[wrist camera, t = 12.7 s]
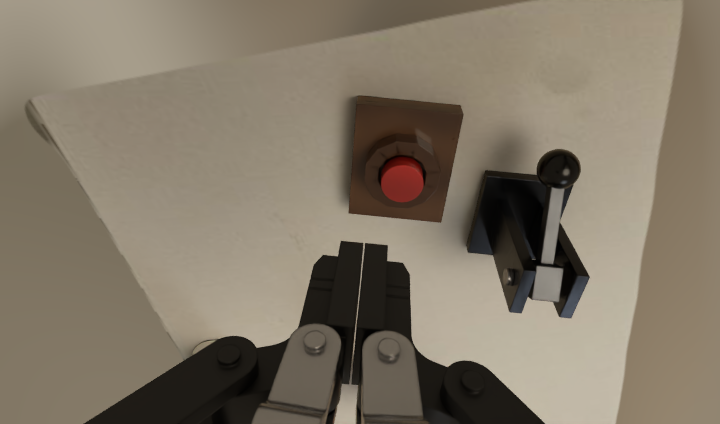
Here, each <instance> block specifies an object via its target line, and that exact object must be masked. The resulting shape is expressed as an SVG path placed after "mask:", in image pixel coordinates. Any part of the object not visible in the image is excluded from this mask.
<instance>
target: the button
mask: <svg viewBox="0 0 720 424" xmlns="http://www.w3.org/2000/svg"><path fill="white" fill-rule="evenodd" d="M423 185H424V181H423V172H422V168H421V166H420V165H419V163H418V162H417V161H415V160H414V159H412V158H409V157H404V156H401V157H396V158H393V159H391V160H389V161H388V162H387V163H386V164H385V165H384V167H383V169H382V173H381V188H382V191H383V193H384V194H385V195H386V196H387V197H388V198H389V199H391V200H393V201H396V202H408V201H411V200H413V199H415V198H416V197H417V196H418V195H419V194H420V193H421V191H422V189H423Z"/></svg>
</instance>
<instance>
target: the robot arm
mask: <svg viewBox="0 0 720 424" xmlns="http://www.w3.org/2000/svg"><path fill="white" fill-rule="evenodd" d="M387 250H388V245H379V244H368V243H365V251H364V260H363V270H362V280H361V289H360V299H359V309H358V318H357V328H356V339H355V350H354V361H353V372H352V384H353V385H358V394H357V405H356V424H545V423H544V422H543V421H542V420H541V419H540V418H539V417H538V416H537V415H536V414H534V413H533V412H532V411H531V410H530V409H529V408H528V407H527V406H526V405H525V404H524V403H523V402H522V401H521V400H520V399H519V398H518V397H517V396H516V395H515V394H514V393H513V392H512V391H511V390H510V389H509V388H507V387H506V386H505V385H504V384H503V383H502V382H501V381H500V380H499V379H498V378H497V377H496V376H495V375H494V374H493V373H492V372H491V371H490V370H488V369H487V368H486V367H484V366H483V365H480V364H478V363H475V362H472V361H459V362H455V363H453V364H451V365H450V366H449V367H445V366H443V365H440V364H438V363H435V362H433V361H431V360H429V359H427V358H426V357H424V356H423V355H422V354H421V353H420V352H419V351H418V350H417V349H416V347H415V346H414V344H413V341H412V336H411V306H410V274H409V273H408V271H407V269H406V268H405V266H404V264H403V263H399V262H389V261H387ZM362 253H363V243H357V242H347V241H341V243H340V249H339V254H338V257H337V256H327V255H323V256H322V257H321V258H320V259H319V260H318V261H317V262H316V263H315V264H314V266H313V270H312V275H311V279H310V283H309V287H308V291H307V295H306V299H305V303H304V307H303V311H302V315H301V319H300V323H299V326H298V329H296V330H295V331H294V332H293V333H292V335H291V336H290V338H289V339H287V340H286V341H284V342H282V343H279V344H276V345H272V346H266V347H260V348H256V347H255V345H254V344H253V343H252V342H251V341H250V340H248V339H246V338H244V337H239V336H229V337H224V338H221V339H218V340H216V341H214V342H213V343H211V344H210V345H208V346H206V347H205V348H203V349H202V350H200V351H199V352H197V353H195V354H194V355H192V356H191V357H189V358H187V359H186V360H184V361H183V362H181V363H179V364H178V365H176V366H175V367H173V368H172V369H170V370H169V371H167V372H166V373H164V374H162V375H160V376H159V377H157V378H156V379H154V380H153V381H151V382H150V383H148V384H146V385H145V386H143V387H142V388H140V389H138V390H137V391H135V392H134V393H132V394H130V395H129V396H127V397H125V398H124V399H122V400H121V401H119V402H118V403H116V404H115V405H113V406H111V407H110V408H108V409H106V410H105V411H103V412H102V413H100V414H99V415H97V416H95V417H94V418H93V419H91V420H89V421H87V422H86V423H84V424H334V421H335V417H336V412H337V405H338V403H339V400H340V395H341V387H342V384H349V380H350V371H351V361H352V352H353V343H354V333H355V324H356V315H357V305H358V296H359V286H360V275H361V264H362Z"/></svg>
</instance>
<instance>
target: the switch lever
mask: <svg viewBox="0 0 720 424" xmlns="http://www.w3.org/2000/svg"><path fill="white" fill-rule="evenodd" d="M580 172H581V166H580V162H579V160H578V158H577V157H576V156H575V155H574V154H573V153H572V152H570V151H568V150H564V149H555V150H551V151H549V152H547V153H546V154H544V155H543V156H542V157H541V159H540V160H539V162H538V165H537V176H538V178H539V180H540V182H541V183H542V184H543V185H545V186H546V187H547V188H546V195H545V202H544V209H543V216H542V223H541V230H540V237H539V244H538V251H537V258H536V260H532V261H533V263H534V266H535V268H536V271H537V273H536V275H535V278H534V281H533V284H532V286H531V289H530V292H529V294H528V297H529V298H531V299H532V300H541V301H550V302H559V298H560V292H561V285H562V278H563V272H564V268H563V267H561V266H559V265H557V264H555V263H554V258H555V252H556V245H557V238H558V231H559V224H560V218H561V211H562V204H563V197H564V191H565V188H568V187H570V186H571V185H573V184H574V183H575V182H576V181H577V179H578V178H579V175H580Z"/></svg>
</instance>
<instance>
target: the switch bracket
mask: <svg viewBox="0 0 720 424" xmlns="http://www.w3.org/2000/svg"><path fill="white" fill-rule="evenodd" d="M572 187H573V185H571V186H570V187H568V188H565V191H564V197H563V204H562V211H561V217H562V214H563V211H564V209H565V206H566V203H567V201H568V198H569V195H570V193H571V190H572ZM546 188H547V187H546V186H545V185H543V184H542V183H541V182H540V180H539V178H538V176H537V175H529V174H518V173H508V172H498V171H488V170H485V173H484V177H483V181H482V185H481V189H480V193H479V197H478V201H477V205H476V209H475V213H474V217H473V221H472V225H471V229H470V233H469V237H468V241H467V245H466V246H467V251H468V253H478V254H488V255H493V257H494V261H495V264H496V267H497V271H498V274H499V278H500V281H501V285H502V288H503V292H504V295H505V298H506V302H507V305H508V309H509V312H513V313H522V311H523V308H524V305H525V302H526V300H527V297H528V294H529V292H530V289H531V286H532V284H533V281H534V278H535V275H536V273H537V271H536V268H535V266H534V263H533V261H532V259H535V260H536V258H537V251H538V244H539V237H540V230H541V223H542V216H543V209H544V202H545V195H546ZM560 219H561V218H560ZM554 263H555V264H557V265H559V266H561V267H563V268H564V272H563V278H562V285H561V292H560V298H559V302H553V303H554V305H555V308H556V310H557V313H558V315H559V317H564V318H571V317H572V315H573V313H574V311H575V309H576V306H577V304H578V302H579V300H580V298H581V295H582V293H583V291H584V289H585V287H586V284H587V282H588V280H589V278H590V277H589V275H588V273H587V271H586V269H585V267H584V266H583V264H582V262H581V260H580V258H579V256H578V255H577V253H576V251H575V249H574V247H573V245H572V244H571V242H570V240H569V238H568V236H567V234H566V233H565V231H564V229H563V227H562V225H561V224H559V231H558V238H557V245H556V252H555V258H554Z"/></svg>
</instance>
